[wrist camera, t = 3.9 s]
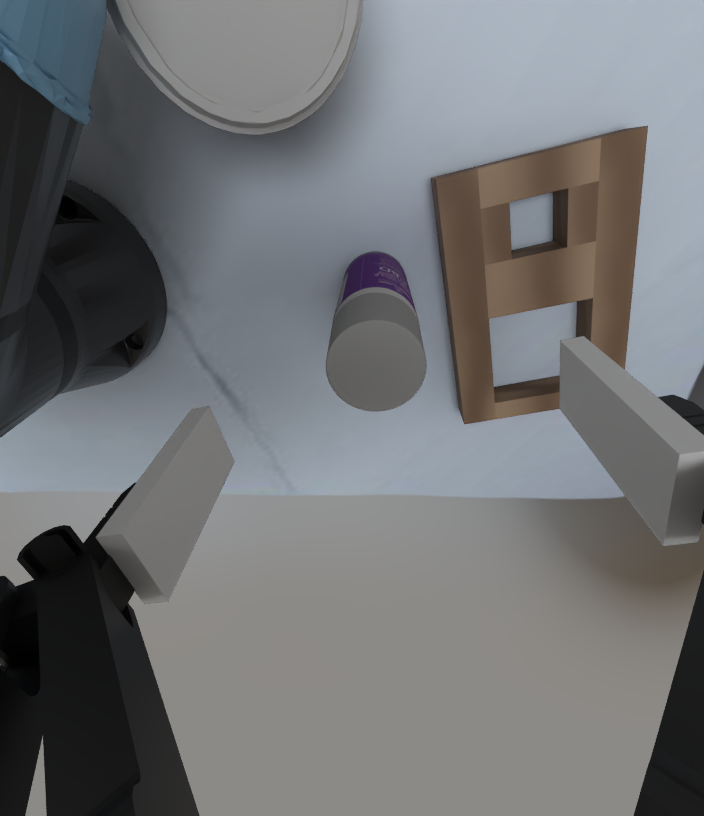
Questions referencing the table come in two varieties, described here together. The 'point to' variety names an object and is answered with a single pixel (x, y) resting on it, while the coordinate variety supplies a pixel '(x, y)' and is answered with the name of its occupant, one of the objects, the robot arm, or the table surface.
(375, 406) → the container
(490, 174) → the socket board
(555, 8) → the table surface
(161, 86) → the disposable coffee cup
